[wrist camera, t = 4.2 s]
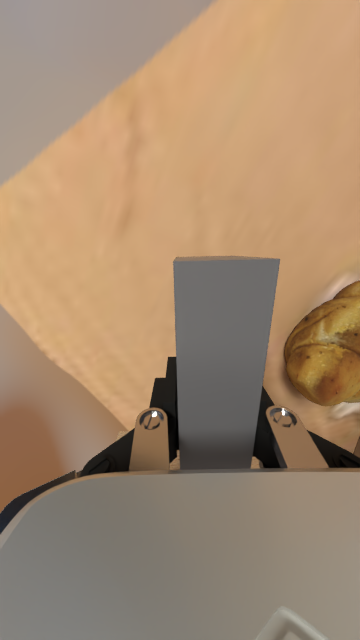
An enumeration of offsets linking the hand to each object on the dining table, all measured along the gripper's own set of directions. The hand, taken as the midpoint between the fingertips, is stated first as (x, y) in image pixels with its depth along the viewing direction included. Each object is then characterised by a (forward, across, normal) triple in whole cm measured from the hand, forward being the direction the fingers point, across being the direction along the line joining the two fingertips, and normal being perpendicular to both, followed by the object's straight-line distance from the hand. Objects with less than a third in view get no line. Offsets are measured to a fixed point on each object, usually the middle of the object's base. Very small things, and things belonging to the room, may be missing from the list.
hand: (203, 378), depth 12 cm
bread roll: (+10, -15, +1) cm, 18 cm away
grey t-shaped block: (0, 0, -1) cm, 1 cm away
